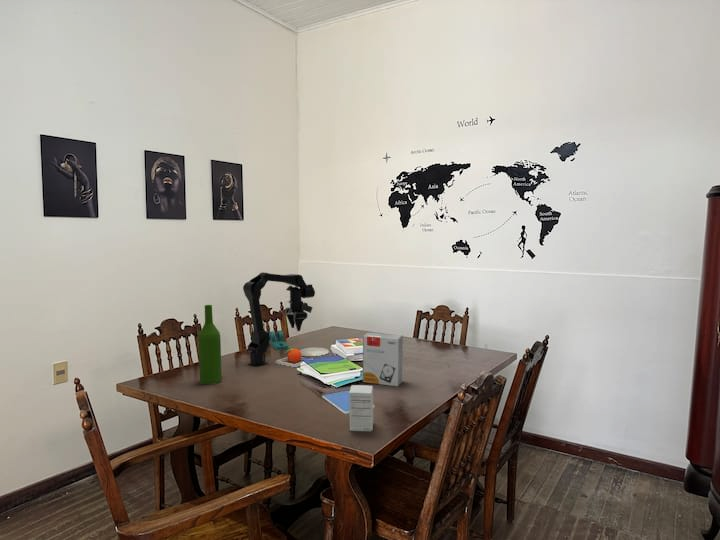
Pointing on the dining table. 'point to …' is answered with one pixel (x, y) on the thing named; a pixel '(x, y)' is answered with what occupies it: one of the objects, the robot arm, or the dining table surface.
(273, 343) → the bracket
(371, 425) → the supplement box
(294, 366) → the white flat square frame
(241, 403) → the dining table surface
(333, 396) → the tablet computer
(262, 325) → the robot arm
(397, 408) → the dining table surface
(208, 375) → the wine bottle
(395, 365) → the hard drive box
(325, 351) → the cream plate
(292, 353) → the clementine
